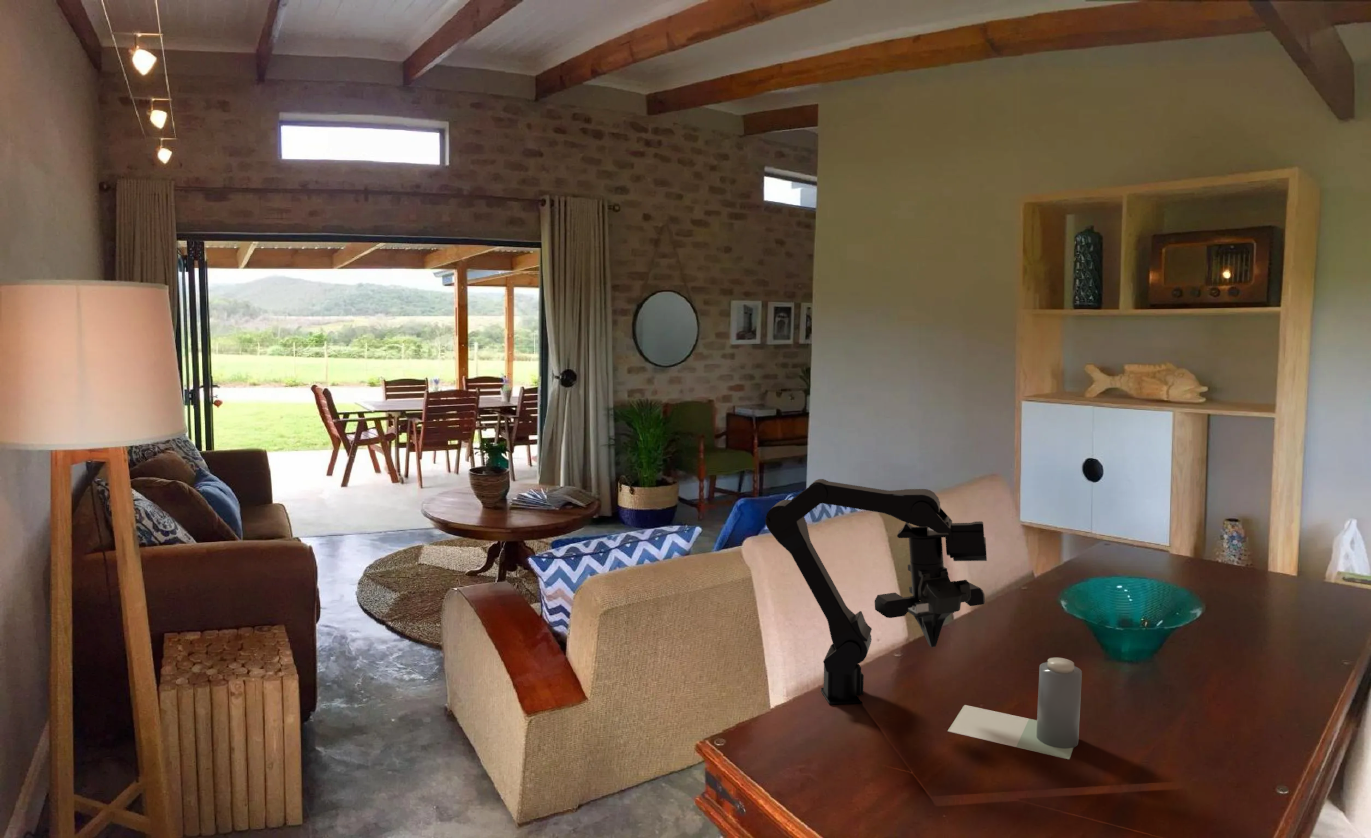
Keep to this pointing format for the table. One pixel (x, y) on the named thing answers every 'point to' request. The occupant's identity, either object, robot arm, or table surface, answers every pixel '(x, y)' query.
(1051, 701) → the jar
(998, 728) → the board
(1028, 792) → the table surface
